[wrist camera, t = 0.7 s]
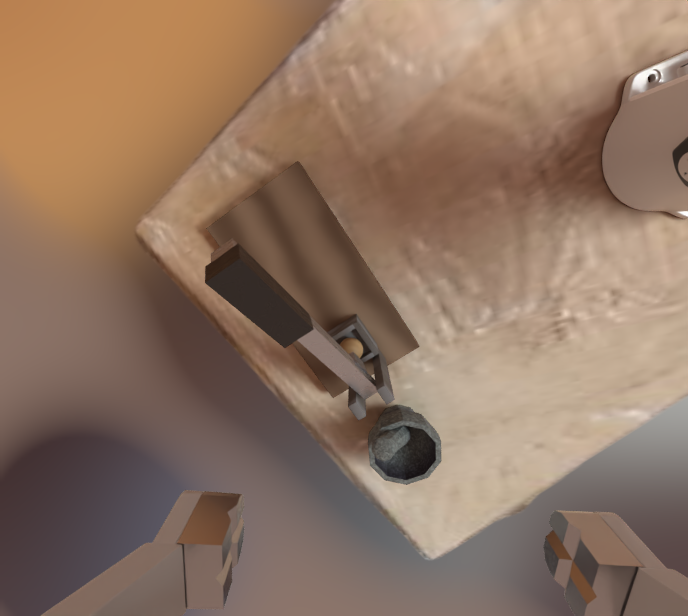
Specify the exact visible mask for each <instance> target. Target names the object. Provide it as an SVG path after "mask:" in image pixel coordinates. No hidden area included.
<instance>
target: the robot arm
mask: <svg viewBox="0 0 688 616" xmlns="http://www.w3.org/2000/svg"><path fill="white" fill-rule="evenodd" d="M648 76H649V77H650V78H651V81H650V82H648ZM602 166H603V173H604V177H605V180H606V182H607V185H608V186H609V188H610V190H611V191H612V193H613V194H614V195H615V196H616V197H617V198H618V199H619V200H620V201H621V202H623V203H624V204H626V205H628V206H630V207H632V208H635V209H638V210H643V211H665V212H669V213H671V214H673V215H675V216H677V217H680V218H684V219H687V218H688V50H687V51H684V52H682V53H680V54H678V55H675V56H673V57H671V58H668V59H666V60H664V61H662V62H659V63H657V64H655V65H652V66H650V67H648V68H645V69H643V70H641V71H639V72H636V73H634V74H632V75H631V76H630V77H629V78H628V80H627V81H626V84H625V87H624V91H623V96H622V103H621V107H620V109H619V112H618V114H617V115H616V117H615V119H614V121H613V123H612V124H611V126H610V128H609V131H608V133H607V136H606V139H605V142H604V147H603V154H602ZM243 509H244V496H243V495H242V494H233V493H221V492H206V491H205V492H202V491H190V490H185V491H184V492H183V493H182V494H181V495H180V496H179V498H178V500H177V502H176V503H175V505H174V507H173V508H172V510H171V512H170V513H169V515H168V517H167V518H166V520H165V522H164V524H163V525H162V527H161V529H160V530H159V532H158V534H157V536H156V537H155V539H154V541H153V543H145V544H144V545H142V546H141V547H139V548H138V549H137V550H135V551H133V552H132V553H131V554H129V555H128V556H126V557H125V558H124V559H122V560H120V561H119V562H118V563H116V564H115V565H113V566H112V567H110V568H109V569H108V570H106V571H105V572H103V573H102V574H100V575H99V576H97V577H96V578H94V579H93V580H92V581H90V582H89V583H87V584H86V585H84V586H83V587H81V588H80V589H78V590H77V591H76V592H74V593H73V594H71V595H70V596H68V597H67V598H65V599H64V600H63V601H61V602H60V603H58V604H57V605H55V606H54V607H52V608H51V609H50V610H48V611H47V612H45V613H44V614H42V615H41V616H182V615H183V614H184V613H185V612H186V609H224V606H225V603H226V600H227V596H228V593H229V590H230V586H231V583H232V568H233V567H234V566H235V565H237V564H238V560H239V557H240V553H241V548H242V543H243V537H244V520H243V519H242V518H241V515H242V512H243ZM549 524H550V525H551V527H552V529H553V530H552V531H551V532H550V533H549V534H548V535H547V536H546V537H545V542H544V547H543V548H544V555H545V561H546V564H547V566H548V569H549V571H550V573H551V575H552V576H553V578H554V580H556V581H557V582H558V583H559V584H560V585H562V586H563V587H564V588H565V595H564V598H565V599H566V601H567V603H568V605H569V606H570V608H571V610H572V612H573V613H574V615H575V616H688V578H687V577H685V576H683V575H682V574H680V573H679V572H677V571H675V570H674V569H667V568H666V567H665V566H664V565H663V564H662V563H661V562H660V561H659V560H658V558H657V557H656V556H655V555H654V554H653V553H652V552H651V551H650V550H649V549H648V547H647V546H646V545H645V544H644V543H643V542H642V541H641V540H640V539H639V538H638V537H637V535H635V533H634V532H633V531H632V530H631V529H630V528H629V527H628V525H626V523H625V522H624V521H623V520H622V519H621V518H620V517H619V516H618V515H616V514H614V513H612V512H577V511H556V510H555V511H554V512H553V513H552V514H551V517H550V521H549Z"/></svg>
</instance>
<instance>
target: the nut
mask: <svg viewBox="0 0 688 616" xmlns="http://www.w3.org/2000/svg"><path fill="white" fill-rule="evenodd" d="M340 346H341V347H342V348H343V349H344V350H345V351H346V352H347V353H348V354H350V353H351V352H354V353H355V354H356V355H357V356H358V357H359V358H360V357H361V356H362V354H363V346H362V344H361V342H360V341H359V340H358V339H356V338H346V339H344V340H343V341H342V342H341V344H340Z"/></svg>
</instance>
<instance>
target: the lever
mask: <svg viewBox="0 0 688 616" xmlns="http://www.w3.org/2000/svg"><path fill="white" fill-rule="evenodd" d="M205 283H206V284H207V285H208V286H210V287H211V288H212V289H213V290H215V291H216V292H217V293H218V294H219V295H221V296H222V297H223V298H224V299H225V300H227V301H228V302H229V303H230V304H232V305H233V306H234V307H235V308H236V309H238V310H239V311H240V312H241V313H243V314H244V315H245V316H246V317H247V318H249V319H250V320H251V321H252V322H254V323H255V324H256V325H257V326H258V327H260V328H261V329H262V330H263V331H264V332H266V333H267V334H268V335H269V336H271V337H272V338H273V339H274V340H275V341H277V342H278V343H279V344H280V345H282V346H283V347H284V348H286V347H287V346H289V345H290V344H292V343H293V342H295V341H296V340H297V341H299V342H300V343H301V344H302V345H303V346H304V347H305V348H307V349H308V350H309V351H310V352H311V353H312V354H313V355H315V356H316V357H317V358H318V359H319V360H320V361H321V362H323V363H324V364H325V365H326V366H327V367H328V368H329V369H331V370H332V371H333V372H334V373H335V374H336V375H337V376H339V377H340V378H341V379H342V380H343V381H344V382H345V383H347V384H348V385H349V386H350V387H351V388H352V389H353V390H354V391H356V392H357V393H358V394H359V395H360V396H361V397H362V398H364V399H366V398H368V397H370V396H371V395H373V394H375V393H377V390H376V382H375V380H374V379H373V378H372V377H371V376H370V375H369V374H368V373H367V370H366V368H365V365H364V363H363V361H362V360H361V359H360V358H359V357H358V356H357V355H356V354H355V353H354V352H351V353H350V354H348V353H347V352H346V351H345V350H344V349H343V348H342V347H341V346H340V345H339V344H338V343H337V342H336V341H335V340H334V339H333V338H332V337H331V336H330V335H329V334H328V333H327V332H326V331H325V330H324V329H323V328H322V327H321V326H320V325H319V324H318V323H317V322H316V321H315V320H314V319H313V318H312V317H311V316H310V315H309V313H308V312H307V311H306V310H305V309H304V308H303V307H302V306H301V305H300V304H299V303H298V302H297V301H296V300H295V299H294V298H293V297H292V296H291V295H290V294H289V293H288V292H287V291H286V290H285V289H284V288H283V287H282V286H281V285H280V284H279V283H278V282H277V281H276V280H275V279H274V278H273V277H272V276H271V275H270V274H269V273H268V272H267V271H266V270H265V269H264V268H263V267H262V266H261V265H260V264H259V263H258V262H257V261H256V260H255V259H254V258H253V257H252V256H251V255H250V254H249V253H248V252H247V251H246V250H245V249H244V248H243V247H242V246H241V245H240V244H239V243H238V244H237V243H236V242H235V241H234V240H233V239H231V240H229V241H228V242H226V243H225V244H224V245H222V246H221V247H219V248H218V249H217V250H215V251H214V252H212V253H211V263H210V264H209V265H207V266H206V270H205Z"/></svg>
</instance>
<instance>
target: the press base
mask: <svg viewBox="0 0 688 616" xmlns="http://www.w3.org/2000/svg"><path fill="white" fill-rule="evenodd" d="M206 229H207V230H208V231H209V233H210V234H211V235H212V237H213V238H214V239H215V241H216V242H217V243H218V245H219V246H220V247H221V246H222V245H224V244H225V243H226V242H228V241H229V240H231V239H233V240H234V241H235V242H236V243H237V244H238V243H239V244H240V245H241V246H242V247H243V248H244V249H245V250H246V251H247V252H248V253H249V254H250V255H251V256H252V257H253V258H254V259H255V260H256V261H257V262H258V263H259V264H260V265H261V266H262V267H263V268H264V269H265V270H266V271H267V272H268V273H269V274H270V275H271V276H272V277H273V278H274V279H275V280H276V281H277V282H278V283H279V284H280V285H281V286H282V287H283V288H284V289H285V290H286V291H287V292H288V293H289V294H290V295H291V296H292V297H293V298H294V299H295V300H296V301H297V302H298V303H299V304H300V305H301V306H302V307H303V308H304V309H305V310H306V311H307V312H308V313H309V315H310V316H311V317H312V318H313V319H314V320H315V321H316V322H317V323H318V324H319V325H320V326H321V327H322V328H323V329H324V330H325V331H326V332H327V333H328V334H329V335H330V336H331V337H332V338H333V339H334V340H335V341H336V342H337V343H338V344H339V345H340V344H341V342H342V341H343V340H344V339H346V338H356V339H358V340H359V341H360V342H361V344H362V346H363V354H362V356H361V357H360V359H361V360H362V361H363V363H364V365H365V368H366V370H367V373H368V374H369V375H370V376H371V375H373V374H375V382H376V390H377V392H378V393H379V394H380V396H381V397H382V399H383V400H384V401H385V403H386V404H388V403H390V402H392V401H393V400H394V395H393V390H392V386H391V381H390V377H389V372H388V367H387V366H388V365H389V364H391V363H393V362H394V361H396V360H398V359H400V358H401V357H403V356H405V355H406V354H408V353H410V352H411V351H413V350H415V349H416V348H418V347H419V345H418V343H417V341H416V339H415V338H414V336H413V335H412V333H411V332H410V330H409V329H408V327H407V326H406V324H405V323H404V321H403V319H402V318H401V316H400V315H399V313H398V312H397V310H396V309H395V307H394V306H393V304H392V303H391V301H390V300H389V298H388V297H387V295H386V294H385V292H384V291H383V289H382V287H381V286H380V284H379V283H378V281H377V280H376V278H375V277H374V275H373V274H372V272H371V271H370V269H369V268H368V266H367V265H366V263H365V262H364V260H363V258H362V257H361V255H360V254H359V252H358V251H357V249H356V248H355V246H354V245H353V243H352V242H351V240H350V239H349V237H348V236H347V234H346V233H345V231H344V229H343V228H342V226H341V225H340V223H339V222H338V220H337V219H336V217H335V216H334V214H333V213H332V211H331V210H330V208H329V207H328V205H327V204H326V202H325V201H324V199H323V197H322V196H321V194H320V193H319V191H318V190H317V188H316V187H315V185H314V184H313V182H312V181H311V179H310V178H309V176H308V175H307V173H306V172H305V170H304V168H303V167H302V165H301V164H300V163H299V162H298V161H297V162H296V163H295V164H293V165H292V166H290V167H289V168H288V169H286V170H285V171H284V172H282V173H281V174H280V175H278V176H277V177H276V178H274V179H273V180H271V181H270V182H269V183H267V184H266V185H265V186H263V187H262V188H261V189H259V190H258V191H257V192H255V193H254V194H252V195H251V196H250V197H248V198H247V199H246V200H244V201H243V202H242V203H240V204H239V205H238V206H236V207H235V208H233V209H232V210H231V211H229V212H228V213H227V214H225V215H224V216H223V217H221V218H220V219H219V220H217V221H216V222H214V223H213V224H212V225H210V226H209V227H208V228H206ZM292 344H293V345H294V346H295V348H296V349H297V350H298V352H299V353H300V354H301V356H302V357H303V358H304V360H305V361H306V362H307V364H308V365H309V366H310V368H311V369H312V370H313V372H314V373H315V375H316V376H317V377H318V379H319V380H320V381H321V383H322V384H323V385H324V387H325V388H326V389H327V391H328V392H329V393H330V395H331V396H332V397H333V398H334V397H336V396H337V395H339V394H341V393H342V392H344V391H346V390H347V389H349V399H348V407H349V408H350V410H351V411H352V412H353V414H354V415H355V416H356V418H357V419H358V421H359V420H360V419H362V418H364V417H366V405H365V399H364V398H362V397H361V396H360V395H359V394H358V393H357V392H356V391H354V390H353V389H352V388H351V387H350V386H349V385H348V384H347V383H345V382H344V381H343V380H342V379H341V378H340V377H339V376H337V375H336V374H335V373H334V372H333V371H332V370H331V369H329V368H328V367H327V366H326V365H325V364H324V363H323V362H321V361H320V360H319V359H318V358H317V357H316V356H315V355H313V354H312V353H311V352H310V351H309V350H308V349H307V348H305V347H304V346H303V345H302V344H301V343H300V342H299V341H297V340H296V341H295V342H293V343H292Z"/></svg>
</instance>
